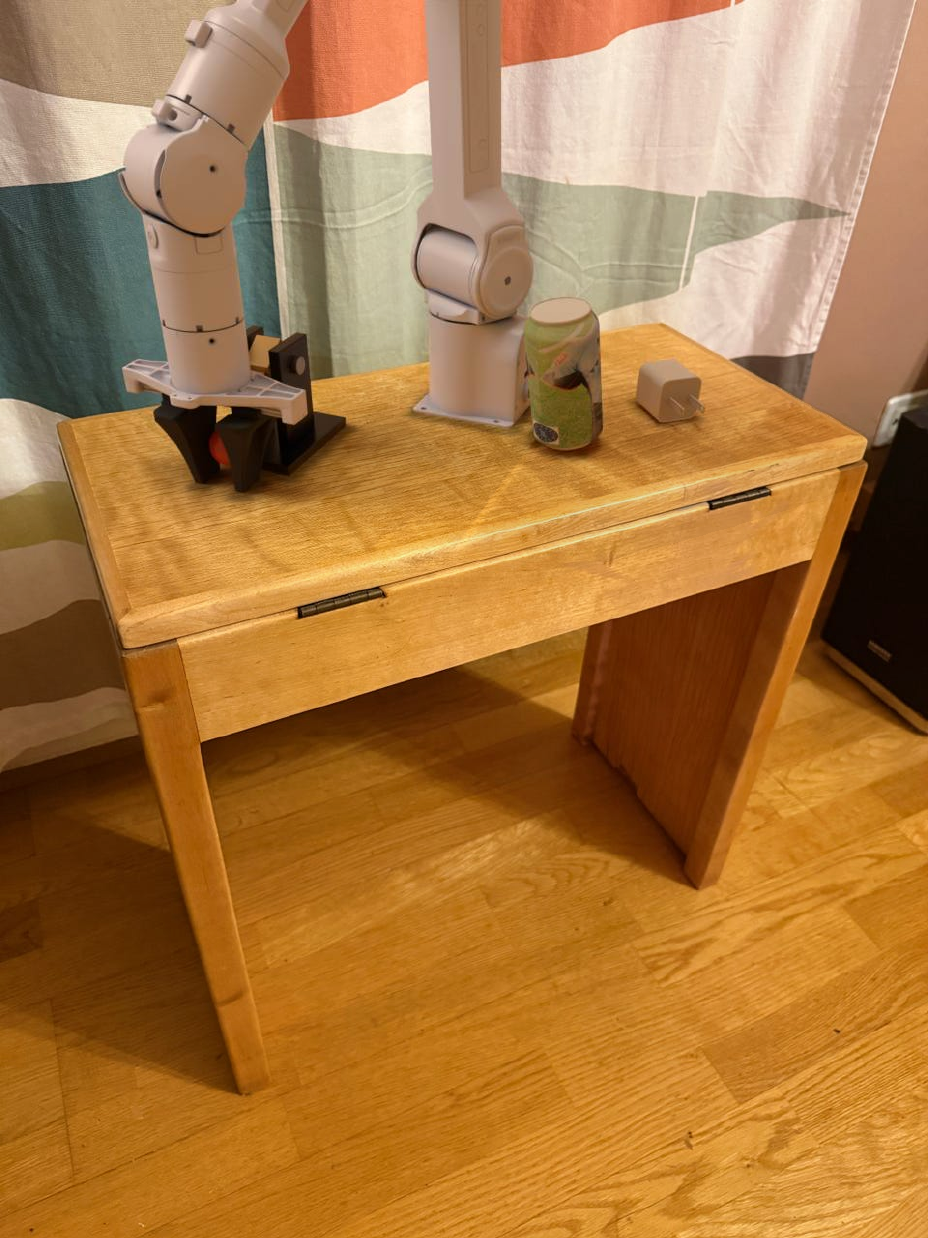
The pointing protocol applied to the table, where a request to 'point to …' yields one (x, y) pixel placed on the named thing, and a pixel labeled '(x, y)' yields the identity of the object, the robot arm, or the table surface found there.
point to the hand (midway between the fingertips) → (228, 489)
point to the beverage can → (564, 372)
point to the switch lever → (257, 364)
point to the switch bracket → (316, 428)
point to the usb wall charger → (668, 390)
